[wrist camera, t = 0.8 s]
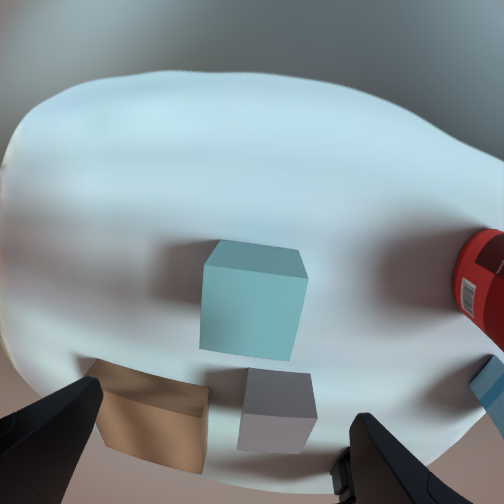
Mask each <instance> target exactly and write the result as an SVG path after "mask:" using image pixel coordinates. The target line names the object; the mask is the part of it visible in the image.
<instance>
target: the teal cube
mask: <svg viewBox="0 0 504 504" xmlns="http://www.w3.org/2000/svg"><path fill="white" fill-rule="evenodd" d="M307 283H308V276H307V273H306V270H305V267H304V265H303V262H302V259H301V256H300V253H299V251H298V250H294V249H287V248H280V247H272V246H265V245H258V244H251V243H243V242H236V241H228V240H220V241H219V243H218V244H217V246H216V247H215V249H214V250H213V252H212V253H211V255H210V256H209V258H208V259H207V261H206V262H205V264H204V270H203V285H202V302H201V322H200V346H199V349H204V350H209V351H215V352H221V353H228V354H234V355H241V356H248V357H256V358H264V359H273V360H282V361H289V360H290V356H291V352H292V348H293V344H294V340H295V336H296V332H297V328H298V324H299V319H300V315H301V311H302V306H303V302H304V297H305V293H306V288H307Z"/></svg>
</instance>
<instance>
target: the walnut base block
mask: <svg viewBox="0 0 504 504" xmlns="http://www.w3.org/2000/svg"><path fill="white" fill-rule="evenodd" d="M87 375H90V376H93V377H96V378H98V379H99V381H100V384H101V387H102V390H103V394H104V397H103V401H102V404H101V406H100V409H99V412H98V415H97V418H96V421H95V422H96V425H97V427H98V429H99V432H100V434H101V436H102V438H103V440H104V442H105V444H106V446H107V447H110V448H112V449H115V450H117V451H120V452H123V453H126V454H128V455H131V456H134V457H137V458H140V459H143V460H146V461H149V462H153V463H156V464H160V465H163V466H167V467H171V468H175V469H179V470H183V471H187V472H192V473H197V474H202V470H203V465H204V461H205V457H206V452H207V437H208V413H209V393H210V387H205V386H200V385H195V384H190V383H185V382H180V381H176V380H172V379H167V378H163V377H159V376H155V375H151V374H148V373H144V372H140V371H137V370H133V369H130V368H126V367H123V366H120V365H117V364H113V363H110V362H107V361H104V360H101V359H97V361H96V362H95V363H94V364H93V365H92V367H91V368H90V369H89V370H88V372H87V373H86V374H85V375H84V377H85V376H87Z"/></svg>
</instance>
